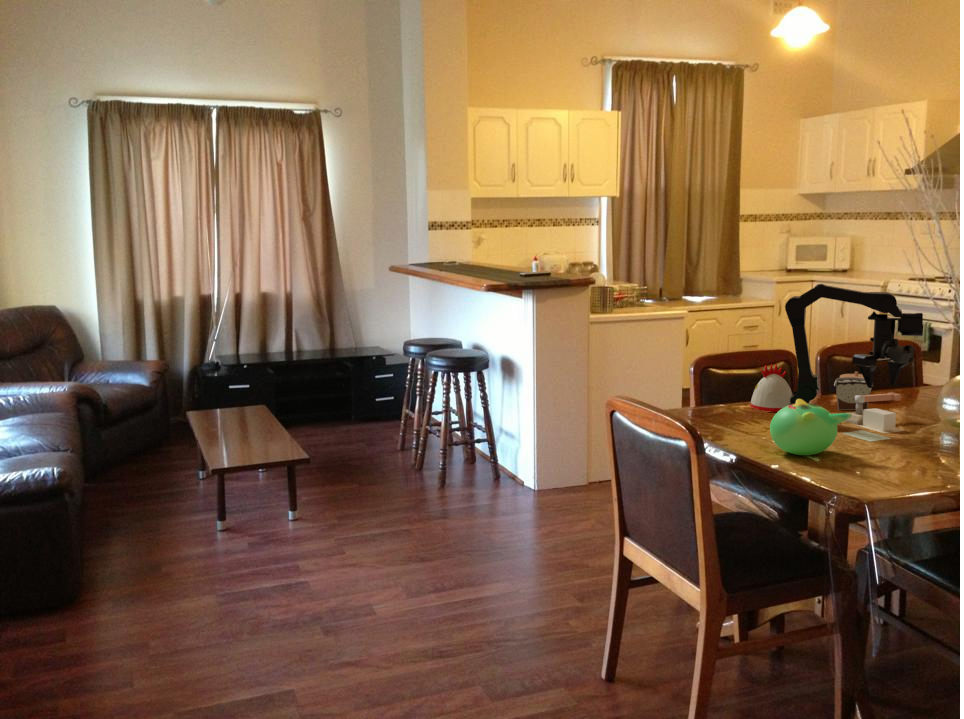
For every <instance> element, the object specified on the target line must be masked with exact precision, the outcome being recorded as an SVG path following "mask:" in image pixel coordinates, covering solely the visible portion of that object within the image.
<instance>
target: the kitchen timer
mask: <svg viewBox="0 0 964 719" xmlns="http://www.w3.org/2000/svg"><path fill="white" fill-rule="evenodd" d="M782 369H783V368H782V367H779V369H778V365H777V364H775V365H774V368H773V364H770V366H769V370H768V366H767V365H766V364H765V365H764V370H763V369H762V368H760V372H761V374H762V376H763V377H762V378H761V379H760V380H759V381H758V383H757V384H756V385H755V386H754V390H753V393H752V396H751V400H750V408H751V407H753V408H755V409H759V410H764V411H771V412H778V411H779V410H781V409H782V408H784V407H786V406H788V405H789V403H790V398H791V395H792V394H793V392H792V390H791V387H790V385H789V384H788V383H789V382H787V381H786V379H784V377H785V375H786V373H787V372H786V370H785V371H784V372H783V373H782ZM781 373H782V374H781ZM771 412H770V413H771Z"/></svg>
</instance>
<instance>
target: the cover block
mask: <svg viewBox="0 0 964 719" xmlns="http://www.w3.org/2000/svg"><path fill="white" fill-rule="evenodd" d="M896 418H897V413H896V412H894V411H893V412H892V411H888V410H885V409H881V408H877V407H876V408H875V407H874V408H872V407H871V408H867V409H864V410H863V424H862V425H863V426H866V427H870V428H874V429H877V430H881V431H888V430H895V428H896V421H897V419H896Z"/></svg>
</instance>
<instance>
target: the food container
mask: <svg viewBox="0 0 964 719" xmlns="http://www.w3.org/2000/svg"><path fill="white" fill-rule="evenodd" d="M833 386H834V387H835V391H836V392H835V393H836V409H837V410H838V411H856V402H855V396H856V395H871V391H872V388H868V386H867V384H866V382H865V380H864V378H855V377H843V378H840V377H838V378H836V379H835V381H834V384H833ZM872 387H874V383H872ZM870 390H871V391H870ZM868 406H869V402H864V403H863V411H864V409H869V408H868Z"/></svg>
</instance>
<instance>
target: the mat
mask: <svg viewBox="0 0 964 719" xmlns="http://www.w3.org/2000/svg"><path fill="white" fill-rule="evenodd" d="M841 434H843V435H847V436H849V437H853V438H856V439H860V440H862V441H867V442H870V443H871V442H878V441H886V440H892V438H891V437H887V436H884V435H881V434H877V433H873V432H870V431H866V430H863V429H862V430H861V429H860V430H854V431H846V432H841Z"/></svg>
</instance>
